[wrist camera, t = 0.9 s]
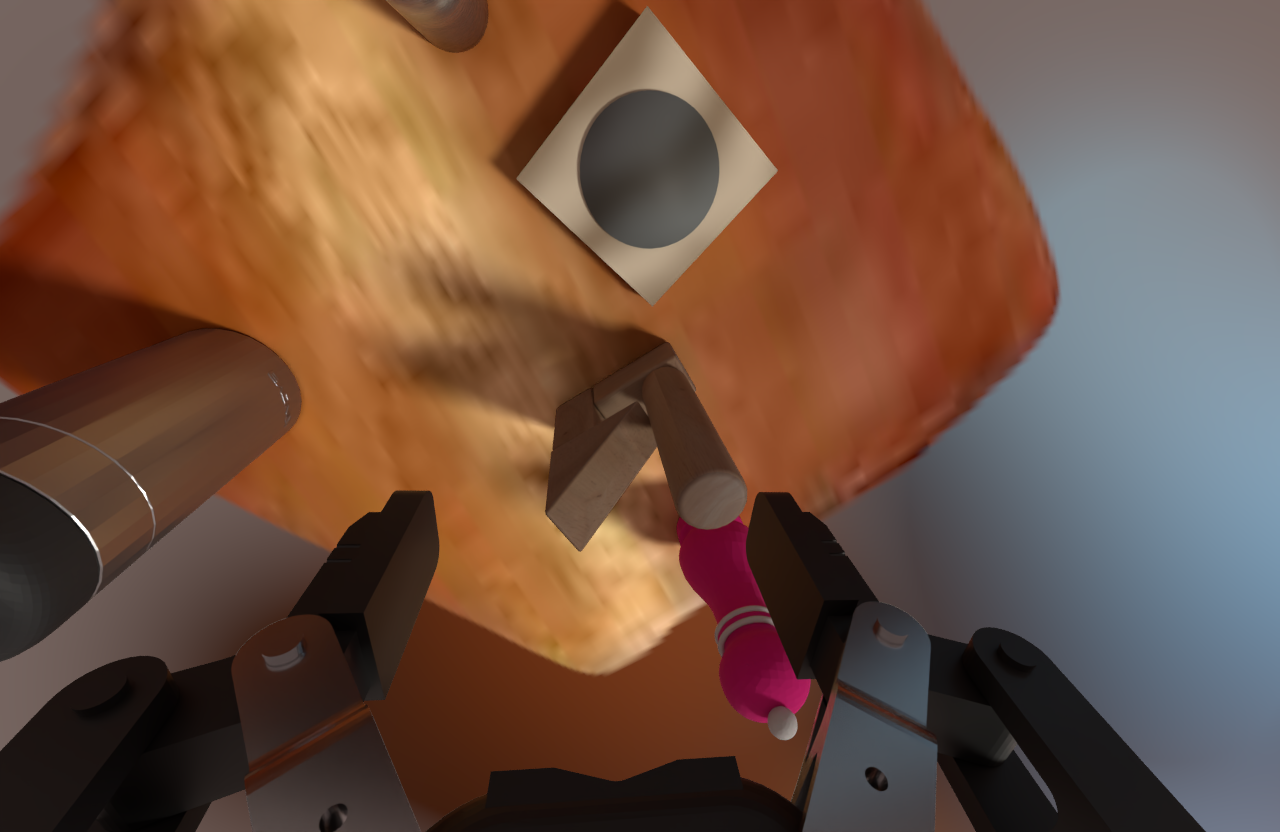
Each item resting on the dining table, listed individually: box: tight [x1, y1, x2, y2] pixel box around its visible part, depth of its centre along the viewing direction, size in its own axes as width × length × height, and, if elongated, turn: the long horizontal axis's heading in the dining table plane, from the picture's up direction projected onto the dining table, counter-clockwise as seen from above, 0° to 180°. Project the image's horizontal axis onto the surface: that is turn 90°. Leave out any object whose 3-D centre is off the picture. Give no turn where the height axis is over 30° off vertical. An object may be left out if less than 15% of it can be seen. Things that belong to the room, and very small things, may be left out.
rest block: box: [516, 6, 778, 306], centre depth 31 cm, size 12×12×2 cm
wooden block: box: [545, 342, 747, 552], centre depth 31 cm, size 4×11×18 cm, turn 121°
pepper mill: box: [677, 516, 810, 740], centre depth 37 cm, size 7×7×20 cm
